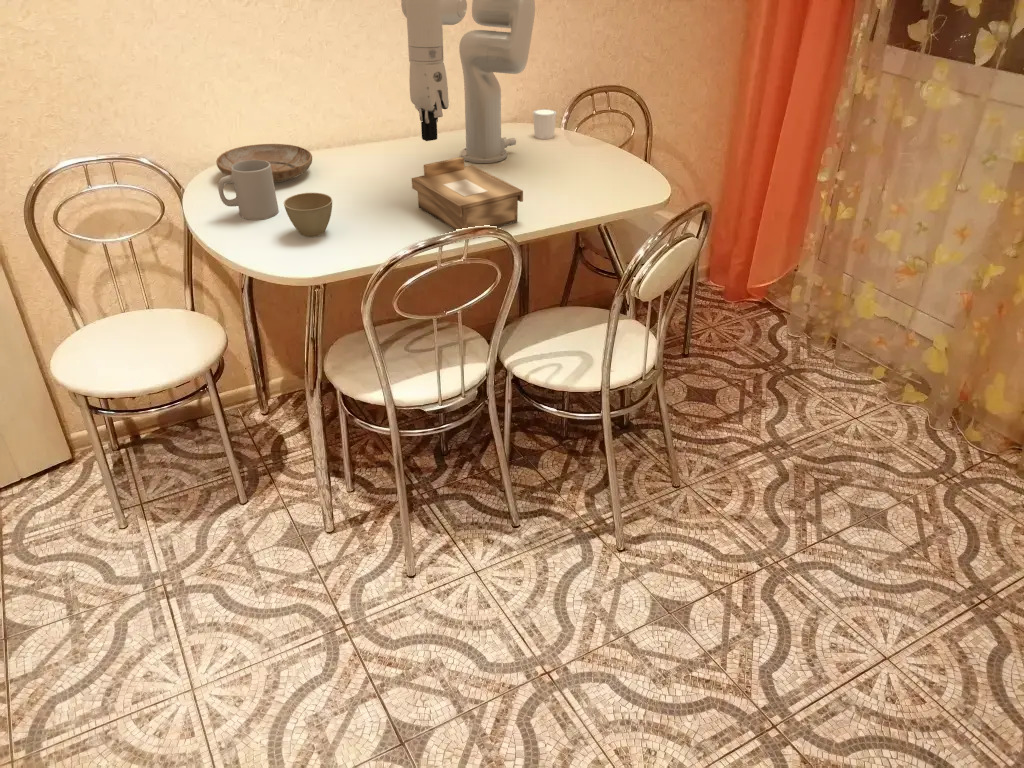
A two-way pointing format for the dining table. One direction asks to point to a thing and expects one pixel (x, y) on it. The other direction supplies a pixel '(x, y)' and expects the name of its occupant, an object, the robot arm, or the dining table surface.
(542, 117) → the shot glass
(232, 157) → the shallow wooden bowl
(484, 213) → the wooden box base
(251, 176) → the mug
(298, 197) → the flower pot
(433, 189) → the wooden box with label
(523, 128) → the dining table surface
